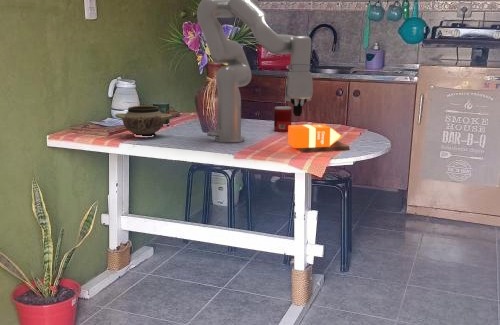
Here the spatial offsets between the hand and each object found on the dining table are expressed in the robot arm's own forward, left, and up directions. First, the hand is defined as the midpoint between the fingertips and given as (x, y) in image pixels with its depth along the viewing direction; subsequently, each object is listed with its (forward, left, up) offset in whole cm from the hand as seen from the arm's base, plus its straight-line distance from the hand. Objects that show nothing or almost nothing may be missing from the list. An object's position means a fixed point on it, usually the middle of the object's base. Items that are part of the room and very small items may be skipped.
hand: (297, 115), depth 234 cm
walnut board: (+10, +2, -13) cm, 17 cm away
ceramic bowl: (-56, +41, -14) cm, 70 cm away
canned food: (+8, +42, -14) cm, 44 cm away
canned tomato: (-44, +68, -14) cm, 82 cm away
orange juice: (-3, -1, -8) cm, 9 cm away
